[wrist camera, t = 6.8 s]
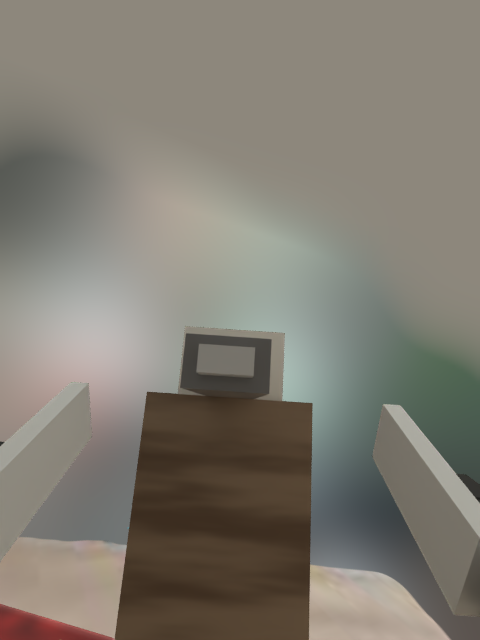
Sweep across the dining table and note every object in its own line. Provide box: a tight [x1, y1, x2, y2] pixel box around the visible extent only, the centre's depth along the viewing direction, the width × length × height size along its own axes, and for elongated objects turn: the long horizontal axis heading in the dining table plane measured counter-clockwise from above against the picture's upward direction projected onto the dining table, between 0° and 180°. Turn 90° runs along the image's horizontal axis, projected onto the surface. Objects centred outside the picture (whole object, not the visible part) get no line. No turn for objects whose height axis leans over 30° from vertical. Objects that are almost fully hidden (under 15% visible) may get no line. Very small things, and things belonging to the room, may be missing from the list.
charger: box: [178, 326, 285, 401], centre depth 27 cm, size 25×9×6 cm, turn 1°
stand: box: [115, 392, 312, 640], centre depth 30 cm, size 10×14×30 cm
